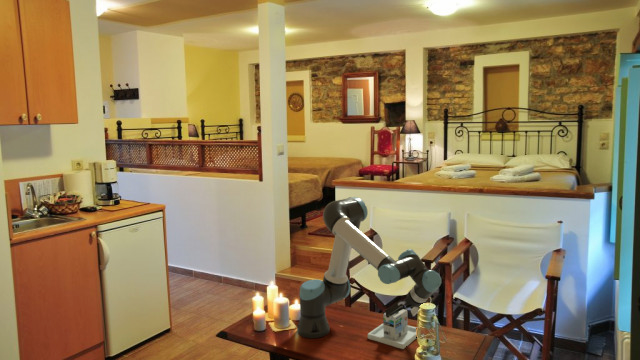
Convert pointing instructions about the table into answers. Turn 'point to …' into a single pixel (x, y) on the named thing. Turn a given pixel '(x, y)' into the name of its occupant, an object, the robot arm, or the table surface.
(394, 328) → the light bulb box
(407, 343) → the tray
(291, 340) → the table surface
